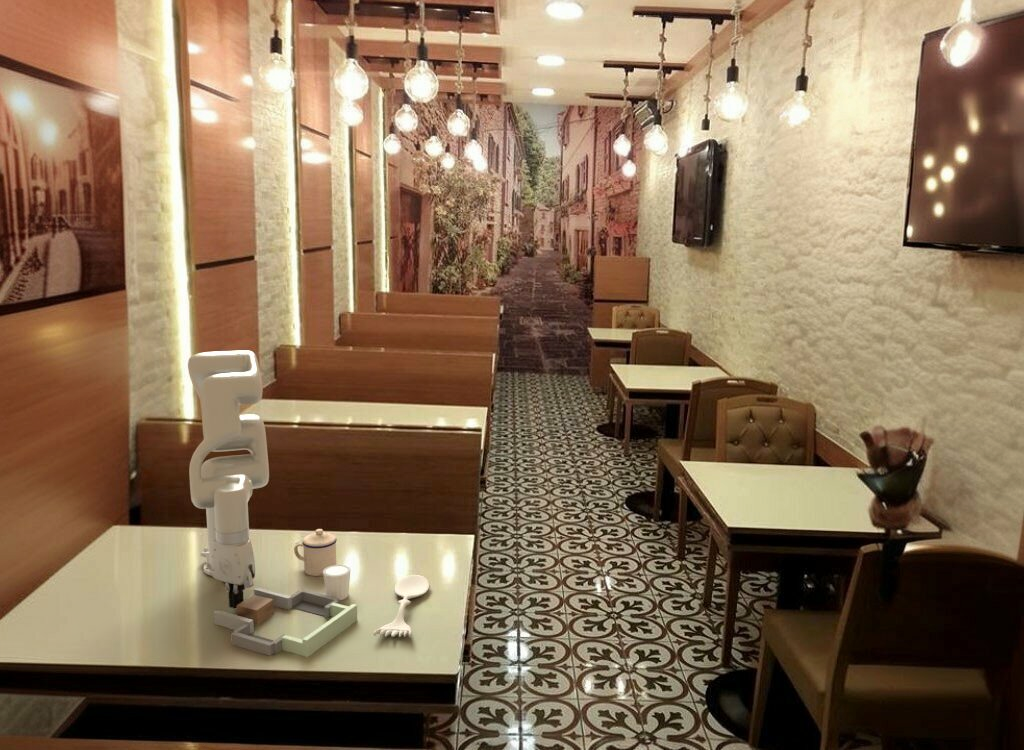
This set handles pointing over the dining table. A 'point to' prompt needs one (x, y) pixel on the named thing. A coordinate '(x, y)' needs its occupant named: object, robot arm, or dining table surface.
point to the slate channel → (304, 647)
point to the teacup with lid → (317, 552)
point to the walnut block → (256, 608)
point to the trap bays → (268, 647)
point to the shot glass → (337, 581)
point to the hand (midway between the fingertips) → (236, 605)
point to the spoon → (404, 604)
